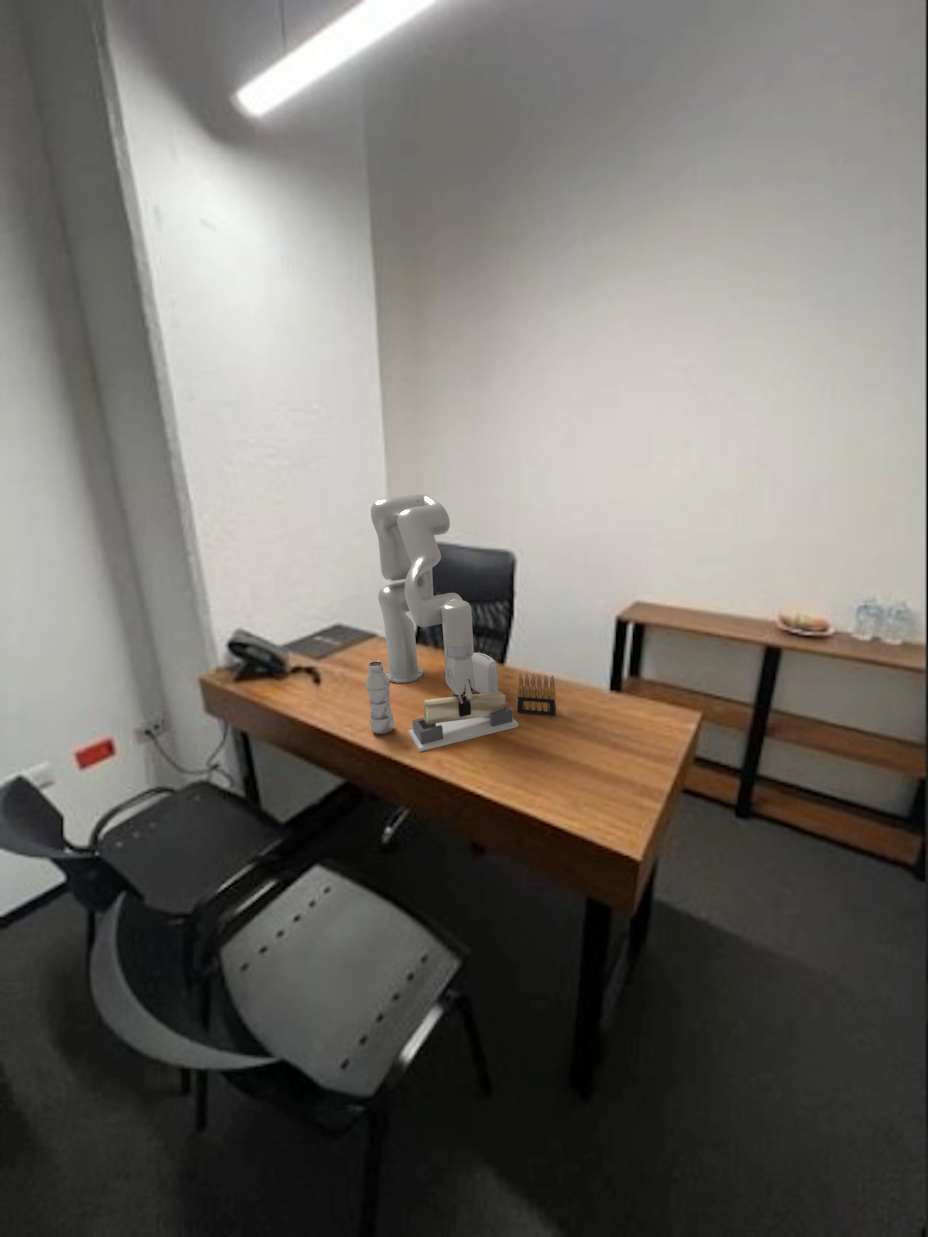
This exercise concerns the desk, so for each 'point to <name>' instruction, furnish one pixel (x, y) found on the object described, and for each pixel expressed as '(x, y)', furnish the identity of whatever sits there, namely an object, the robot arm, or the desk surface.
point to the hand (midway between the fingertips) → (462, 711)
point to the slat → (449, 707)
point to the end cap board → (459, 729)
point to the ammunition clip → (536, 696)
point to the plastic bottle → (379, 699)
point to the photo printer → (485, 673)
